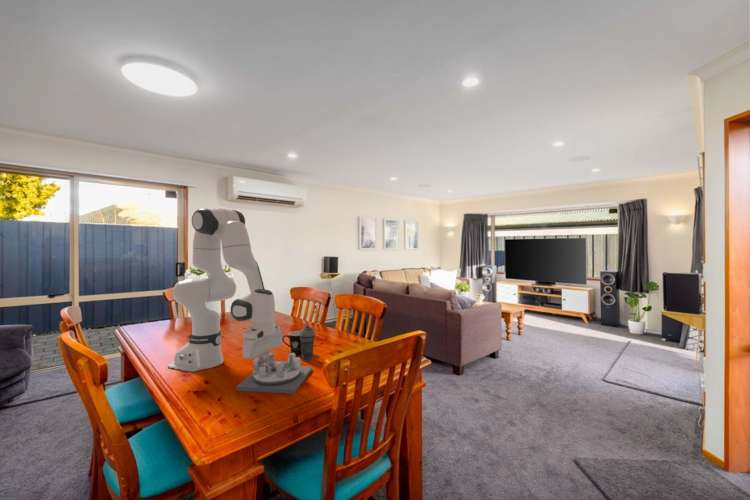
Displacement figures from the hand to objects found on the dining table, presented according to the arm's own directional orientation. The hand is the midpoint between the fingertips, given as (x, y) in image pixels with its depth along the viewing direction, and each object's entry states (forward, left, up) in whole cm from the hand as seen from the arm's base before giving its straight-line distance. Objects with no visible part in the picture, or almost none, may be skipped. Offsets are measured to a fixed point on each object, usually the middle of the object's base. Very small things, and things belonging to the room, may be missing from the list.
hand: (264, 362), depth 130 cm
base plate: (+6, -2, -6) cm, 9 cm away
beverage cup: (+11, +21, -6) cm, 24 cm away
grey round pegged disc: (+6, -2, -4) cm, 8 cm away
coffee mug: (+2, +30, -6) cm, 31 cm away
